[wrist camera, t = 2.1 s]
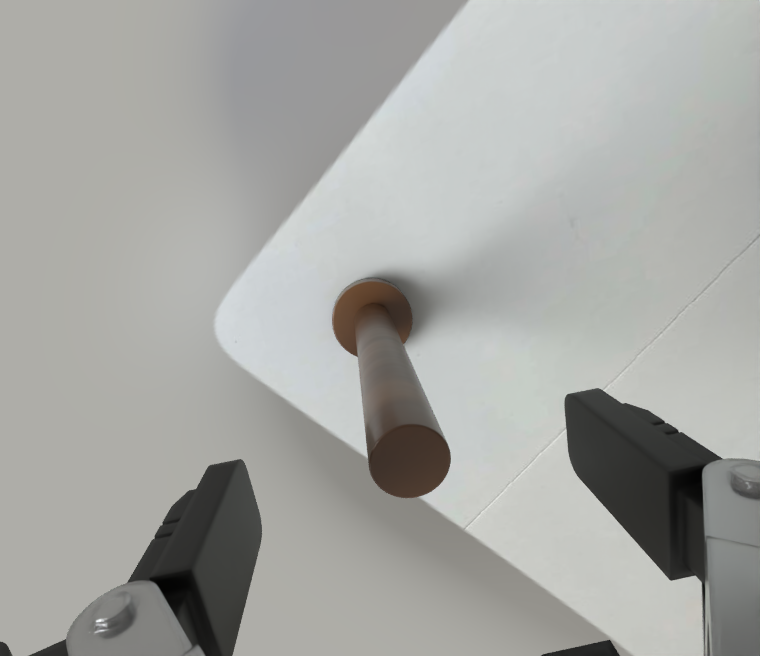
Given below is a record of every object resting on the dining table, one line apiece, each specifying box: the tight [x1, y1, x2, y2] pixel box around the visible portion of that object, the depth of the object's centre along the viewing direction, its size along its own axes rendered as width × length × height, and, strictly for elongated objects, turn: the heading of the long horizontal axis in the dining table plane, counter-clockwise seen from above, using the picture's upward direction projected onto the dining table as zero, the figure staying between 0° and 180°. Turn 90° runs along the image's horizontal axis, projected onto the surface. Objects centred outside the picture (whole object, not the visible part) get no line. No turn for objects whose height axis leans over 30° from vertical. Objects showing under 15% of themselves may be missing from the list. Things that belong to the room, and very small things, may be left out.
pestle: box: [332, 278, 451, 498], centre depth 19 cm, size 4×4×16 cm
